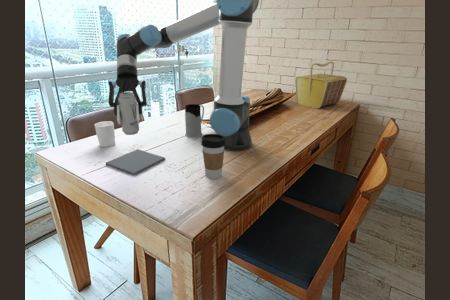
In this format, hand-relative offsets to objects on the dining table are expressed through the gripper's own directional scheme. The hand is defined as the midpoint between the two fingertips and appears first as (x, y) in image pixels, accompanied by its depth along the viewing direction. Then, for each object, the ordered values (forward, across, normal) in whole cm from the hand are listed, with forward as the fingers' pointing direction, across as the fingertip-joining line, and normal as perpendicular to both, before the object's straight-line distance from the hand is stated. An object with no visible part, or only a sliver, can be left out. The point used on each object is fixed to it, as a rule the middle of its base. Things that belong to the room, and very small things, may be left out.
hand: (128, 122), depth 98 cm
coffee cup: (+22, -29, -3) cm, 36 cm away
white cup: (-5, +14, -31) cm, 35 cm away
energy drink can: (+1, 0, -7) cm, 7 cm away
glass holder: (-11, -29, -36) cm, 47 cm away
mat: (+10, 0, -15) cm, 18 cm away
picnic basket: (-43, -126, -68) cm, 149 cm away
